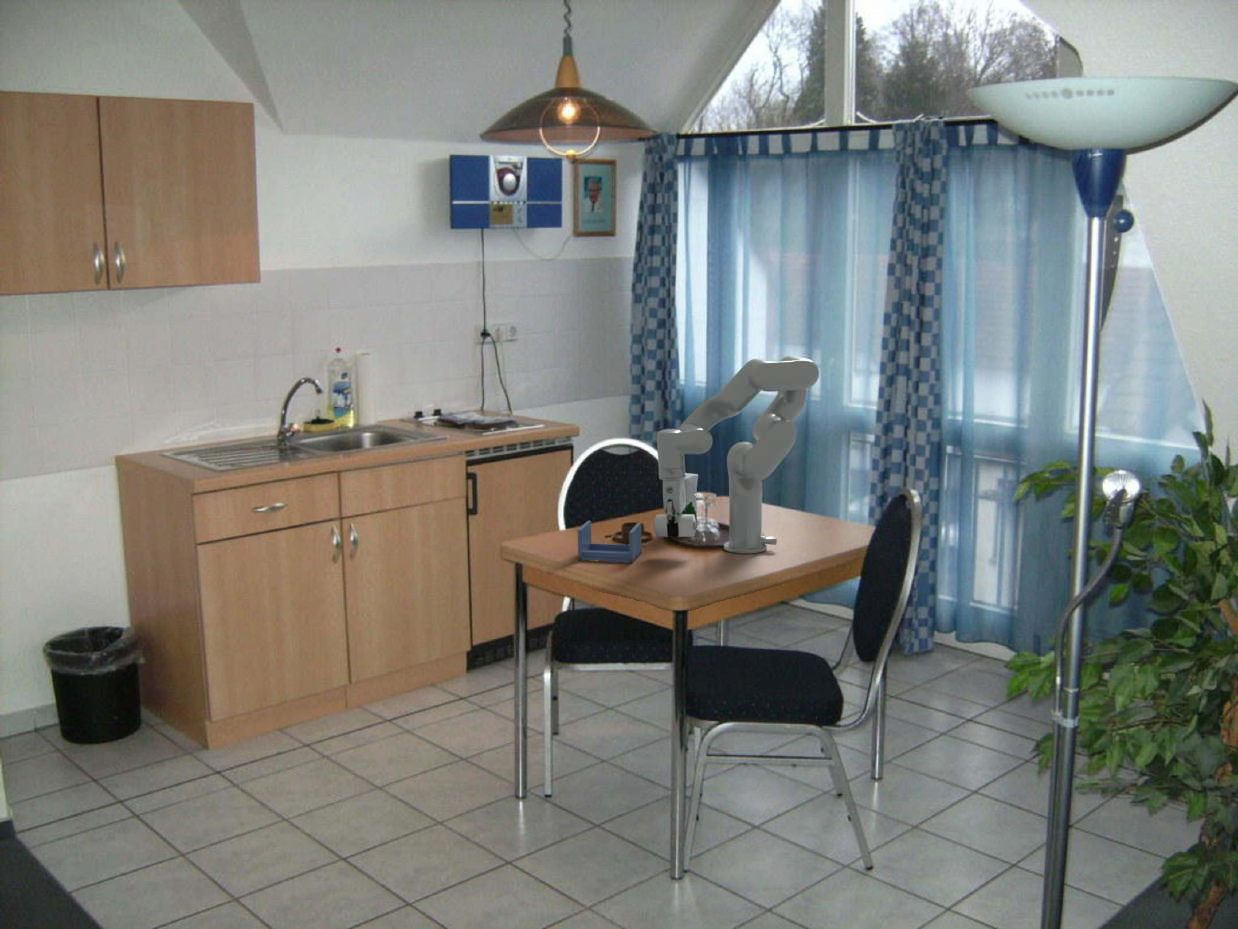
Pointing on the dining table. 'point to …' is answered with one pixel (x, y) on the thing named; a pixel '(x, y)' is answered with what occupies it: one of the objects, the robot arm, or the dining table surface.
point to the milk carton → (690, 494)
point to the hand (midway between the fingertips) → (675, 532)
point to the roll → (685, 525)
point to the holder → (608, 546)
